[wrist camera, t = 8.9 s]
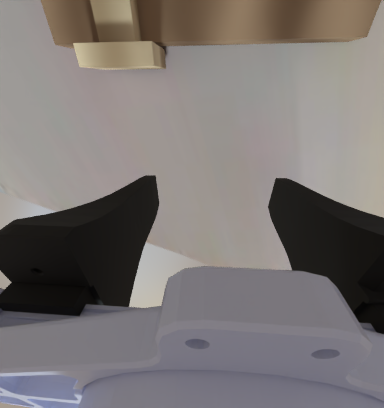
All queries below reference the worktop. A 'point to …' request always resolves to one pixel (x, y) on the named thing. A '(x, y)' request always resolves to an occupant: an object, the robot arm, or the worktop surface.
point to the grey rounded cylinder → (119, 40)
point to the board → (222, 21)
